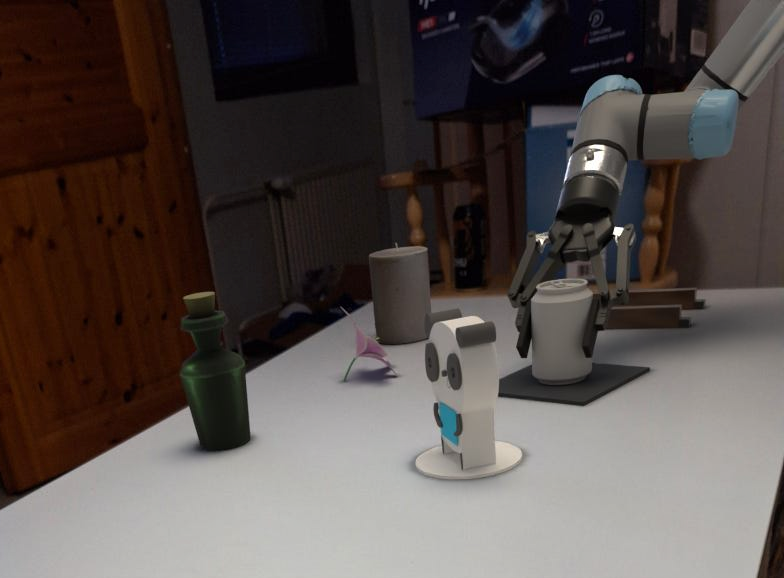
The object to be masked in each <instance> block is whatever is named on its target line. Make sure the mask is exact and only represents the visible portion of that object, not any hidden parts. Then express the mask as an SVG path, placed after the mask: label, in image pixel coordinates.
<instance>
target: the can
mask: <svg viewBox="0 0 784 578" xmlns="http://www.w3.org/2000/svg"><path fill="white" fill-rule="evenodd" d="M588 284H589V281H588V280H587V279H585V278H561V279H553V280H552V281H547V282H544V283H541V284H538V285H537V286H536V288H537V292H536V294H535V295H534V296H533V298H532V299H531V330H532V339H531V365H532V375H533V376H534V377H535V378H536V379H538V380H539V382H541V383H543V384H549V385H563V384H571V383H575V382H579V381H581V380H583V379H585V377H586V376H587V375H588V374H589V373H590V372H591V370H592V363H593V357H592V358H586V357H585V354H584V351H583V348H582V343H583V339H584V334H585V330H586V326H587V321H588V317H589V313H590V308H591V304H592V299H593V293H592V292H593V291H592V290H591V289H590V287H588Z"/></svg>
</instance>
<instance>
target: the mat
mask: <svg viewBox="0 0 784 578" xmlns="http://www.w3.org/2000/svg"><path fill="white" fill-rule="evenodd" d="M649 372H651V367H650V366H640V365H639V366H638V365H626V364H625V365H624V364H613V363H612V364H611V363H599V362H592V370H591V372H590V373H589V374H588V375H587V376H586V377H585V379H583V380H581V381H579V382H575V383H571V384H563V385H549V384H543V383H541V382H539V380H538V379H536V378H535V377H534V376H533V375H532V364H530V365H528V366H526V367H523V368H521V369H519V370H517V371H514V372H511V373H510V374H507V375H506V376H503V377H501V378H499V391H498V397H500V398H501V397H502V398H508V399H518V400H526V401H535V402H544V403H545V402H546V403H552V404H553V403H555V404H563V405H572V406H580V407H584V406H587V405H589V404H590V403H592V402H594V401H596V400H597V399H600V398H602V397H603V396H605V395H607V394H609V393H611V392H613V391H614V390H617V389H619V388H621V387H622V386H624V385H626V384H628V383H630V382H632V381H634V380H636V379H638V378H640V377H641V376H643V375H645V374H647V373H649Z"/></svg>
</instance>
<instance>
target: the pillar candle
mask: <svg viewBox="0 0 784 578" xmlns="http://www.w3.org/2000/svg"><path fill="white" fill-rule="evenodd" d="M394 245H395V247H394V248H386V249H382V250H379V251H375V252H372V253H370V254H369V255H368V261H369V263H368V265H369V275H370V276H369V278H370V284H371V285H370V286H371V287H370V288H371V296H372V306H373V307H372V308H373V317H374V328H375V339H376V338H377V337H379V338H380V339H378V338H377V340H376V341H379V342H378V343H379V344H383V345H402V344H410V343H415V342H419V341H423V340H426V339H428V338H427V336H426V332H425V325H424V323H425V316H426V314H429V313H432V301H431V285H430V270H429V253H428V250H429V248H428V247H425V246H420V245H417V246H403V247H402V246H401V247H398V243H397V242H395V243H394Z"/></svg>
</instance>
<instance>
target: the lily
mask: <svg viewBox="0 0 784 578" xmlns="http://www.w3.org/2000/svg"><path fill="white" fill-rule="evenodd" d="M340 309H341V310H342V311H343V312H344V313H345V314H346V315H347V316H348V318H349V320H350V322H351V323H352V325H353V326H354V331H355V356H354V357H353V359H352V361H351V362H350V363H349V366H348V368H347V371H346V373H345V375H344V378H343V380H342V381H343V382H346V380H347V378H348V375H349V373H350V370H351V368H352V366H353V364H354V363H355V362H356V360H357V359H358V358H359V357H360V358H361V357H362V358H371V359H375V360H378V361H381V362H382V363H383V364H384V365H386V366H387V367H388V368H389V369H390V370H391V371H392V372H393V373H394V374H395V375H396V377H399V376H398V375H397V373H396V371H395V370H394V369H393V367H392V364H391V362H390V361H388V360H387V359H386V357H387V356H388V353H387V351H385V349H384V348H383V346H382V345H381V343H378V342H379V341H376V340H377V338H378V339H380V338H379V337H377V338H376V334H373V337H372V336H370V335H365V334H364V333H363V331H362V330H361V329H360V328H359V327H358V326H357V323H356V322H355V320H354V318H353V316H352V315H351V314H349V312H348V311H346V310H345V309H344V308H343V307H342V306H340Z"/></svg>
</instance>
